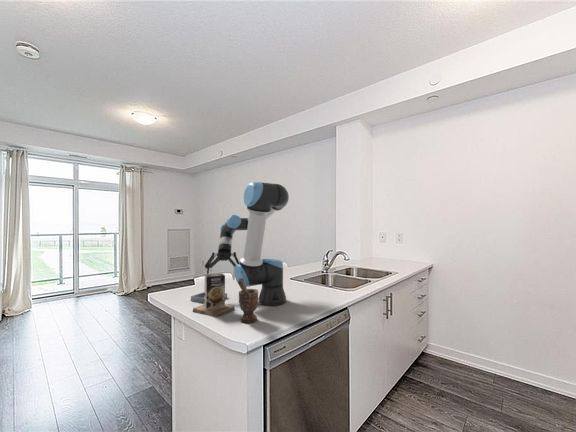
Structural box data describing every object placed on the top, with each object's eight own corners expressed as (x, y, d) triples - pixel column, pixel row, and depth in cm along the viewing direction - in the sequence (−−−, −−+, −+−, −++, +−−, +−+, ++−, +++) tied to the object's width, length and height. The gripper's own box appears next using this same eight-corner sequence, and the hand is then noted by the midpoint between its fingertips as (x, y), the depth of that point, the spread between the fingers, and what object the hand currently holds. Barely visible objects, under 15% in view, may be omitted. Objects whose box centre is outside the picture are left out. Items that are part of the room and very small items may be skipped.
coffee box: (206, 310, 129) (206, 276, 129) (203, 306, 134) (203, 274, 134) (225, 307, 133) (225, 275, 133) (222, 304, 138) (222, 272, 139)
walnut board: (234, 309, 135) (234, 306, 135) (217, 317, 124) (217, 313, 124) (210, 304, 142) (210, 301, 143) (192, 311, 132) (192, 308, 132)
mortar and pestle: (256, 327, 113) (256, 279, 113) (235, 327, 113) (235, 279, 113) (259, 317, 124) (259, 273, 124) (240, 317, 124) (240, 273, 124)
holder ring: (227, 297, 155) (227, 293, 155) (209, 304, 143) (209, 299, 143) (209, 294, 162) (209, 290, 162) (190, 300, 150) (190, 296, 150)
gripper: (246, 248, 165) (244, 281, 153) (205, 249, 164) (200, 282, 152) (245, 242, 159) (243, 276, 147) (202, 243, 158) (197, 277, 146)
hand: (221, 279), depth 149 cm, fingers open, 13 cm apart
